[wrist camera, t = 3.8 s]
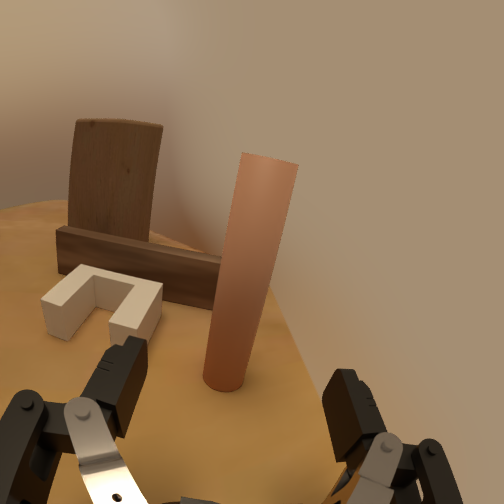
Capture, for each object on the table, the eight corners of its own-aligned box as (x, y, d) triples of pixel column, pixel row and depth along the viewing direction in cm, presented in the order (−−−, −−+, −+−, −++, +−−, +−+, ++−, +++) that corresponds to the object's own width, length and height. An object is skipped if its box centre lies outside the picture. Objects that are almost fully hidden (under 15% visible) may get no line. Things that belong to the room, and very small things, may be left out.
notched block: (138, 364, 22) (136, 329, 20) (48, 333, 21) (40, 299, 19) (161, 315, 29) (163, 283, 28) (83, 294, 28) (80, 264, 27)
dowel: (194, 373, 22) (230, 150, 16) (223, 358, 25) (266, 156, 19) (222, 398, 20) (276, 160, 14) (250, 380, 23) (309, 167, 17)
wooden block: (108, 267, 36) (120, 118, 29) (67, 247, 38) (75, 118, 31) (149, 247, 45) (165, 125, 38) (108, 232, 47) (119, 122, 40)
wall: (217, 311, 32) (226, 264, 30) (58, 272, 31) (55, 230, 28) (219, 302, 34) (227, 257, 32) (66, 266, 32) (64, 225, 30)
